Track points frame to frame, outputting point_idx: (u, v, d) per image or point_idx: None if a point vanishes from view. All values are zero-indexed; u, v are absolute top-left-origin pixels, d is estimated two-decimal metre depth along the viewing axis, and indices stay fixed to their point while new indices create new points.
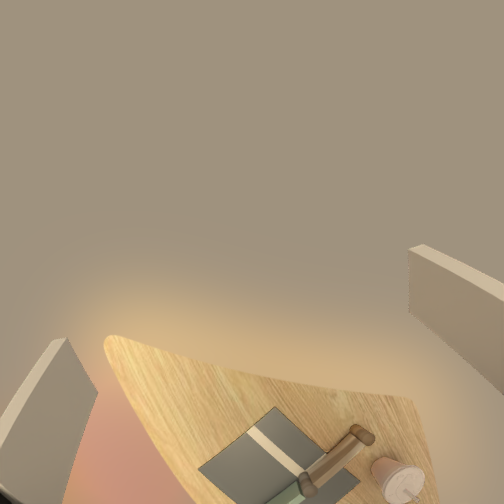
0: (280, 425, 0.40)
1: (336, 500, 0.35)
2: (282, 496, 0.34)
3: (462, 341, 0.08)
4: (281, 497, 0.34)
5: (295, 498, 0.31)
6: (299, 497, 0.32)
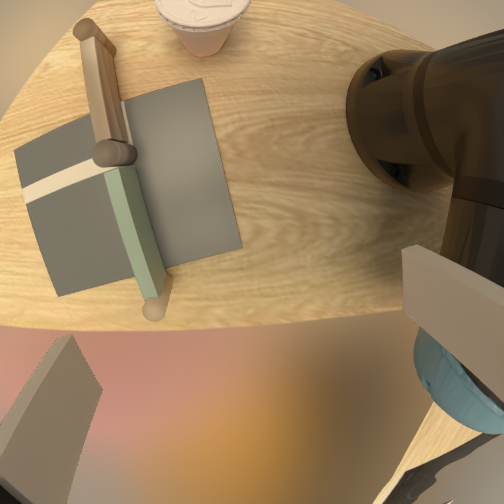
0: (35, 153, 0.23)
1: (210, 129, 0.25)
2: None
3: (455, 340, 0.08)
4: None
5: (108, 185, 0.20)
6: (110, 177, 0.20)
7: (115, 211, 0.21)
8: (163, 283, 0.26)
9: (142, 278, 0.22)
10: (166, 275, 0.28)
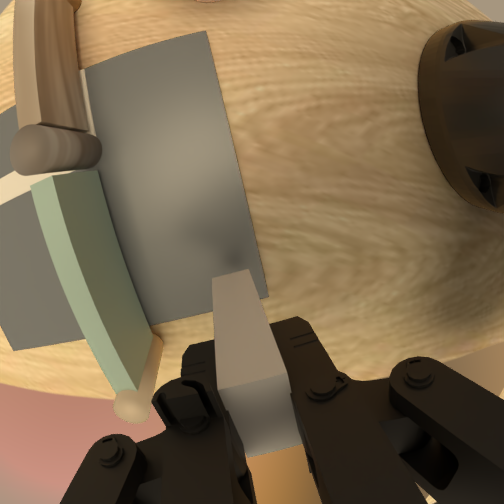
0: None
1: (218, 108, 0.15)
2: None
3: None
4: None
5: (37, 207, 0.10)
6: (39, 193, 0.10)
7: (52, 253, 0.11)
8: (147, 355, 0.16)
9: (107, 362, 0.12)
10: (152, 337, 0.17)
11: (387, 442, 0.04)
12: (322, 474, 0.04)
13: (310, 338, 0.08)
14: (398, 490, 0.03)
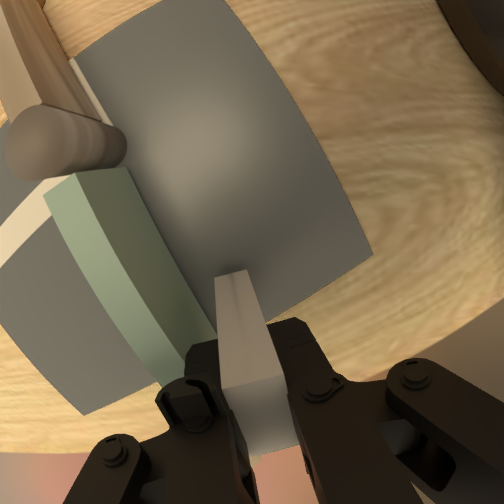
0: None
1: (255, 53, 0.11)
2: None
3: None
4: None
5: (59, 224, 0.07)
6: (59, 202, 0.07)
7: (94, 286, 0.08)
8: None
9: None
10: None
11: (384, 442, 0.04)
12: (318, 475, 0.04)
13: (307, 339, 0.08)
14: (395, 491, 0.03)
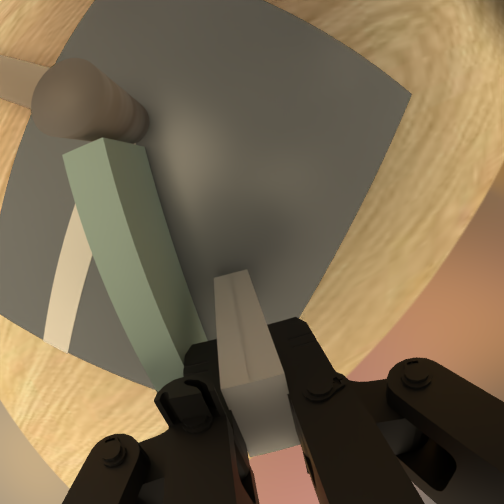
0: (10, 278, 0.12)
1: None
2: None
3: None
4: None
5: (74, 189, 0.07)
6: (79, 166, 0.07)
7: (99, 261, 0.07)
8: None
9: None
10: None
11: (384, 442, 0.04)
12: (319, 475, 0.04)
13: (308, 339, 0.08)
14: (395, 491, 0.03)
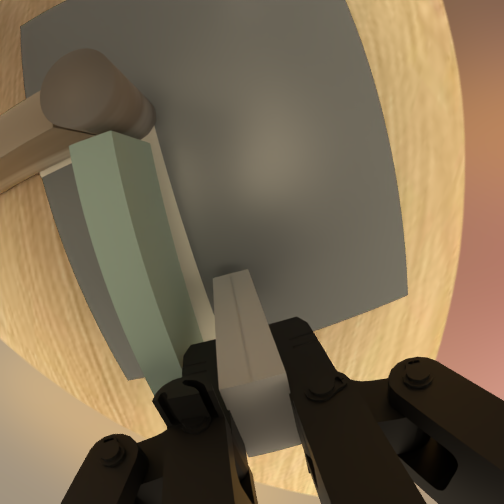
0: None
1: None
2: None
3: None
4: None
5: (79, 181, 0.07)
6: (85, 158, 0.06)
7: (100, 256, 0.07)
8: None
9: None
10: None
11: (386, 441, 0.04)
12: (321, 474, 0.04)
13: (309, 338, 0.08)
14: (397, 490, 0.03)
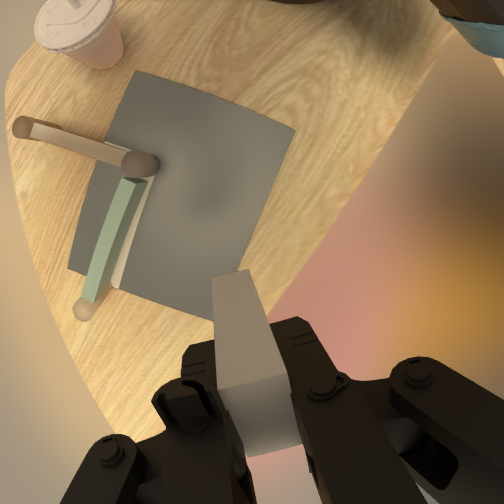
0: (85, 248, 0.27)
1: (182, 87, 0.24)
2: None
3: None
4: None
5: (117, 190, 0.21)
6: (124, 185, 0.21)
7: (108, 215, 0.21)
8: (103, 290, 0.25)
9: (91, 281, 0.22)
10: (109, 283, 0.27)
11: (387, 441, 0.04)
12: (322, 474, 0.04)
13: (310, 338, 0.08)
14: (398, 490, 0.03)
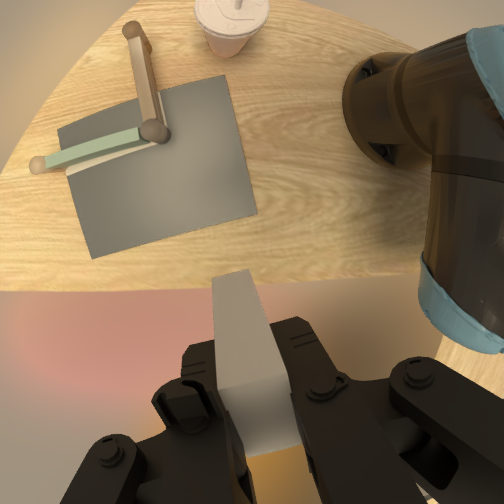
0: (78, 133, 0.29)
1: (231, 116, 0.31)
2: None
3: None
4: None
5: (127, 130, 0.25)
6: (133, 132, 0.25)
7: (107, 136, 0.24)
8: (58, 167, 0.27)
9: (59, 156, 0.24)
10: (66, 167, 0.29)
11: (387, 441, 0.04)
12: (322, 474, 0.04)
13: (310, 338, 0.08)
14: (398, 490, 0.03)
